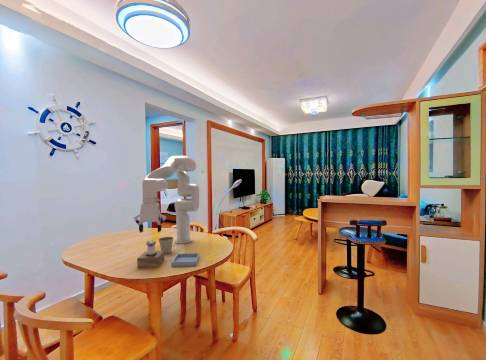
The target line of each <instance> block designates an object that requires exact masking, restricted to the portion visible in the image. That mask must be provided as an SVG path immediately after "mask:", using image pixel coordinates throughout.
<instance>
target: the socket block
mask: <svg viewBox="0 0 486 360" xmlns="http://www.w3.org/2000/svg"><path fill="white" fill-rule="evenodd" d="M136 261H137V263H136V264H137V266H136V267H137V269H142V268H159V267H160V266H161V265H162V263H163V262H164V261H165V254H164V251H161V250H155V256H148V250H145V251H143V253H142V254H141V255H139V256H138V257H137V258H136Z"/></svg>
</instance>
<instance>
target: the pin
mask: <svg viewBox="0 0 486 360" xmlns="http://www.w3.org/2000/svg"><path fill="white" fill-rule="evenodd" d="M145 243H146V246H147V251H148V256H155V251H156V249H155V248H156V244H157V241H156V240H149V241H146V242H145Z"/></svg>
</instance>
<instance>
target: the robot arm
mask: <svg viewBox="0 0 486 360" xmlns="http://www.w3.org/2000/svg"><path fill="white" fill-rule="evenodd" d="M196 168H197V163H196V161H195V160H194V159H193V158H190V157H189V156H187V155H172V156H170V157H169V158H168V159H167V160H166V161H165V163H164V164H163V165H162V166H161V167H159V168H157V169H155V170H153V171H151V172H149V173H148V174H147V175H146V177H145V178H144V179H143V180H142V183H141V186H142V203H141V204H140V205H141V206H140V212H139V214H138V215H136V216H134V217H133V219H134V221H135V223H136V224H137V226H138V231H139V233H140V234H141V233H144V224H143V223H157V233H160V232H162V224H163V223H164V222H165V221H166V219H167V216H166V215H164V214H163V213H161V207H160V203H159V202H160V201H161V199H160V198H158V192H164V191H166V190H167V189H168V187H169V183H168V181H167V180H166V179H168V178H171V177H173V176H174V175H176V176H177V195H178V196H179V197H183V198H177V199H176V200H175V202H174V210H175V219H176V220H175V221H176V223H175V224H176V238H174V244H181V245H182V244H189V243H192V241H193V238H192V237H191V224H190V223H191V219H190V218H191V217H190V214H189V213H188V212H191V213H194V212H195V213H196V212H198V210H199V207H200V186H199V185H198V184H196V183H190V182H191V181H190V175H189V174H188V172H194V171H195V170H196ZM161 218H162V220H161Z"/></svg>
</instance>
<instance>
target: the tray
mask: <svg viewBox="0 0 486 360" xmlns="http://www.w3.org/2000/svg"><path fill="white" fill-rule="evenodd" d="M199 260H200V252H190V253H188V252H187V253H186V252H185V253H176V254H175V256H174V258H173V259H172V260H171V267H172V268H174V267H175V268H177V267H178V268H179V267H197V265H198V263H199V262H198V261H199Z"/></svg>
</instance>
